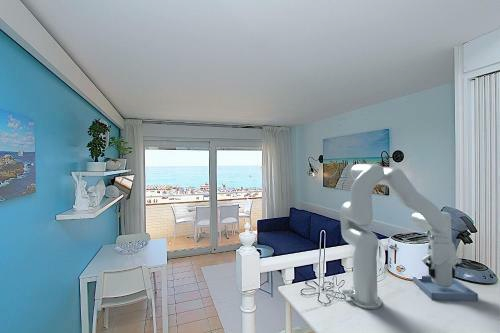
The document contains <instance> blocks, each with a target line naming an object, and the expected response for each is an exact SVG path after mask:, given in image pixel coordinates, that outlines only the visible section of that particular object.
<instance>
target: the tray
mask: <svg viewBox="0 0 500 333" xmlns="http://www.w3.org/2000/svg"><path fill="white" fill-rule="evenodd" d="M425 275H426V274H425ZM413 282H414V283H415V284H416V285H417V286H418V287H419V288H418V287H417V286H416V285H415V284H414V283H413ZM413 282H412V283H413V284H414V285H415V286H416V287H417V288H418V289H419V290H421V292H423V294H425V295H426V296H427V297H428V298H429V299H430V300H432V301H460V302H461V301H464V302H479V294H478V293H477V292H475V290H473V289H471V288H470V287H468V286H467V285H465V284H464V283H462V282H461V281H460V280H458V279H456V277H455V278H452V286H450V287H441V286H438V285H436V284H435V283H434V282H433V281H432V277H431V276H430V275H429V274H428V275H426V276H422V279H421V281H420V280H419V279H417V278H416V277H413Z"/></svg>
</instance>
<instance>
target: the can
mask: <svg viewBox="0 0 500 333" xmlns="http://www.w3.org/2000/svg"><path fill="white" fill-rule="evenodd" d="M442 262H443V263H441V264H440V265H435V267H434V270H435V278H432V281H433V282H434V283H435V284H436V285H438V286H441V287H450V286H452V265H451V264H450V263H448V262H449V261H442Z"/></svg>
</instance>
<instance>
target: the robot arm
mask: <svg viewBox="0 0 500 333" xmlns="http://www.w3.org/2000/svg"><path fill="white" fill-rule="evenodd" d="M349 174H350V177H351V178H352V180H354V181H353V183H352V185H351V187H350V191H349V195H350V196H349V200H347V201H346V202H344V203H343V204H341V207H340V210H339V211H340V212H339V214H340V215H339V217H340V218H339V219H340V229H341V230H340V232H341V236H342V238H343V240H344V241H345V242H346V243H348V244H349V245H350V246H352V247H353V248H354V251H353V255H352V260H351V261H352V262H351V263H352V281H353V284H352V285H353V286H351V288H349V289H342V290H341V292H342V293H341V294H342V295H346V297H347V298H349V300H350V301H351V302H352V303H353V305H356V306H358V307H360V308H362V309H366V310H367V309H368V310H376V309H379V308H380V307H382V305H383V301H382V298H381V297H380V296H379V295H378V271H377V270H378V264H377V260H378V259H377V256H378V249H379V243H380V242H379V239H378V237H377V234H376V233H374V232H373V231H371V230H370V229H367V228H365V227H369V226H370V225H371V224H372V223H373V220H374V212H373V202H372V201H373V198H372V197H373V196H372V194H373V191H374V189H375V187H376V186H377V185H380V186H381V185H383V186H387V187H388V189H389V191H391V193H392V194H393V196H394V197H395V198H396V200H397V201H398V202H399V203H400V204H401V205H404V206H405V207H406V208H408V209H411V210H413V213H412V214H411V216H410V222H411V224H412V225H413V226H414V227H416V228H419V229H423V230H424V231H425V230H426V231H429V232H430V234H429V235H427V239H428V240H429V241H428V245H427V254H426V255H425V256H423V257H422V258H421V261H422V262H423V263H424V264H425V266H427V268H428V269H427V270H428V275H430V276H431V277H432V278H435V270H434V267H435V265H440V264H441V263H443V262H442V261H449V262H448V263H450V264H451V265H452V278H455V279H456V277H455V276H456V272H455V271H456V270H457V268H458V267H459V266H460V264H461V263H462V262H463V260H462V259H461V258H459V257H458V256H457V249H456V246H455V243H454V242H453V240H452V215H451V214H450V212H447V211H441V209H440V208H439V207H438V206H437V205H436V204H435V203H434V202H432V201H431V200H429V199H428V198H427V197H425V196H424V195H423V194H421V193H419V192H418V190H417V189H416V187H415V186H414V185H413V183H412V182H411V181H410V179H409V177H408V176H407V175H406V174H405V172H404V171H403V170H402V169H401V168H399V167H395V166H382V165H380V164H378V163H356V164H354V165H353V166H352V167H351V168H350V171H349Z"/></svg>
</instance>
